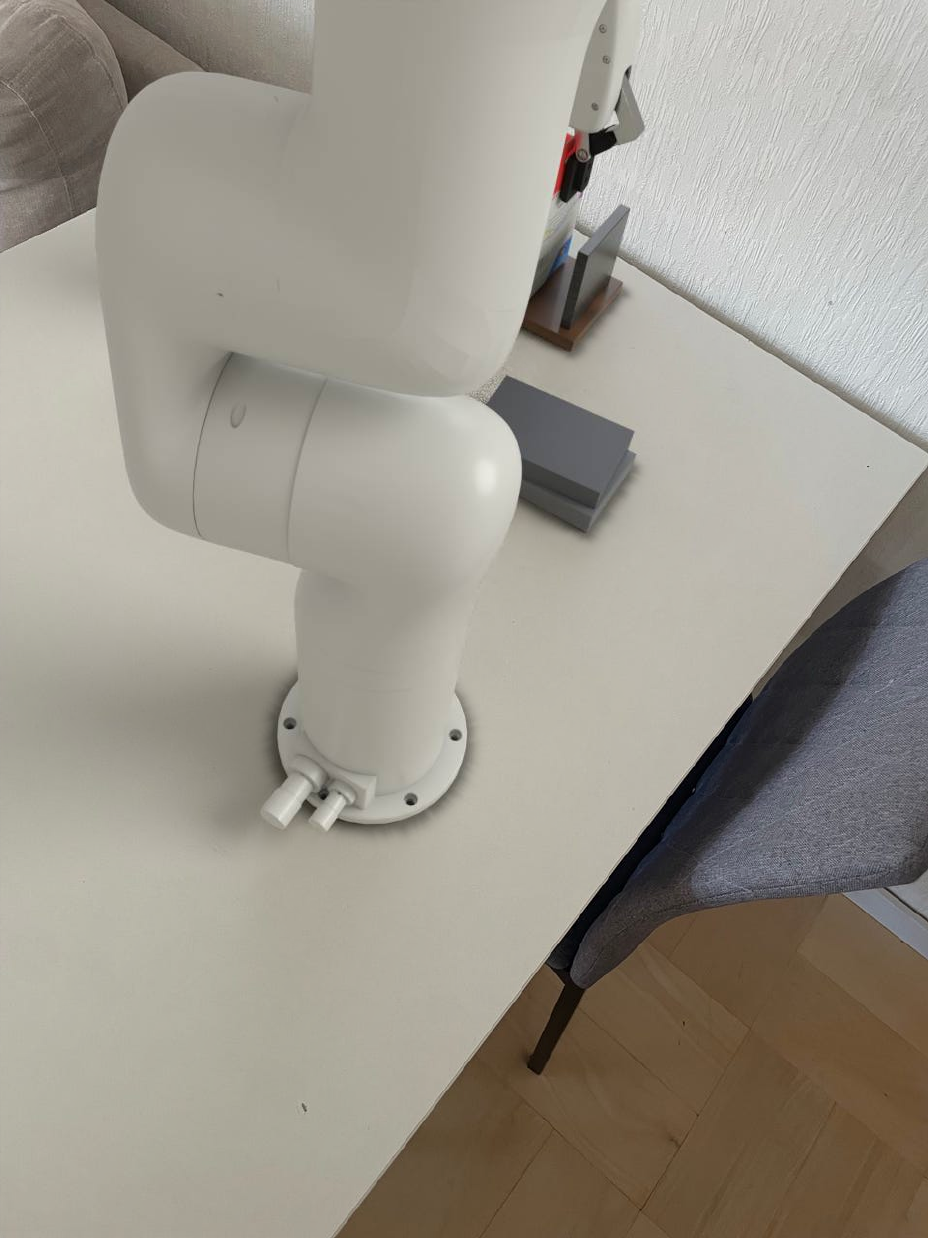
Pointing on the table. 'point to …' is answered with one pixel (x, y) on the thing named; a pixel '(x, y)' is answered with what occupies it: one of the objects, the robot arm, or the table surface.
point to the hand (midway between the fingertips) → (541, 177)
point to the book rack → (579, 287)
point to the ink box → (557, 225)
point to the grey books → (564, 452)
